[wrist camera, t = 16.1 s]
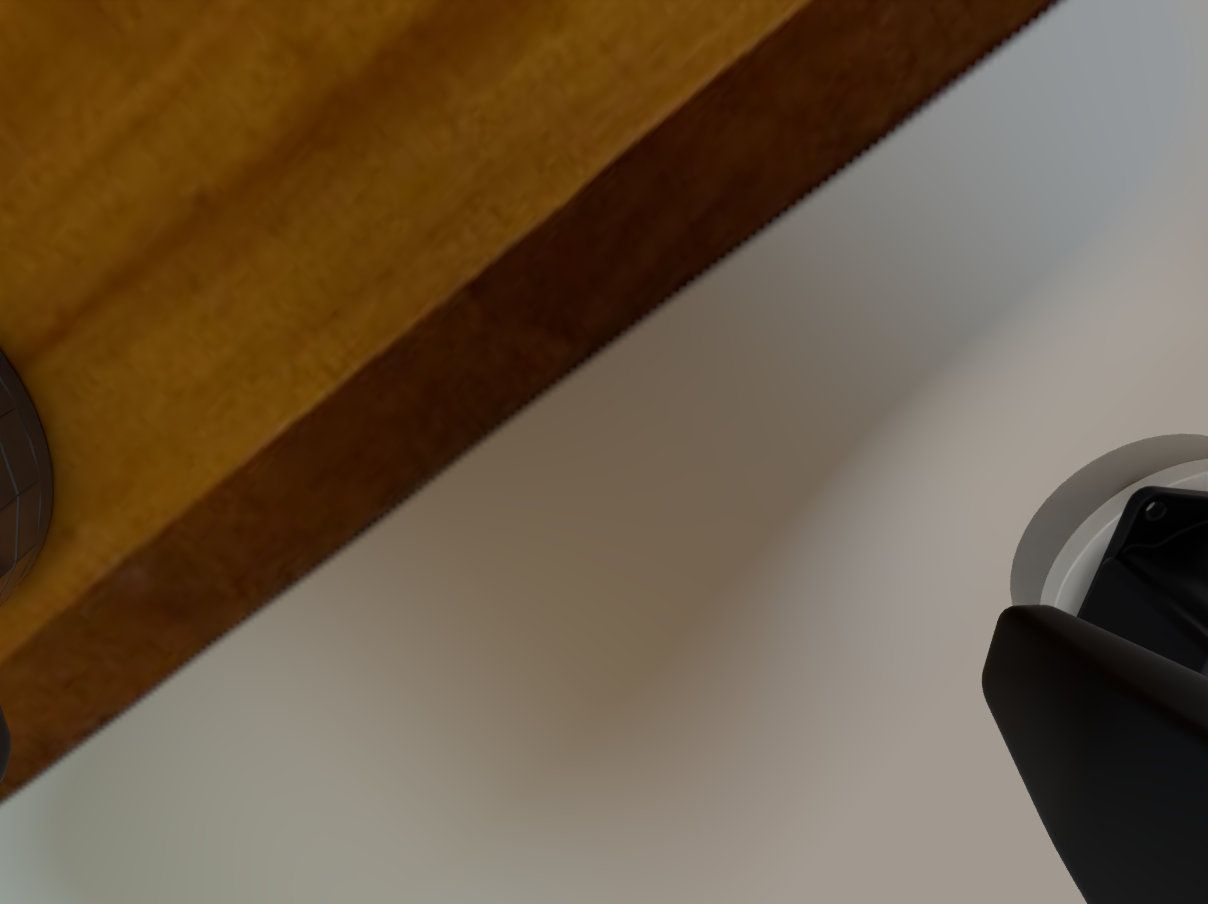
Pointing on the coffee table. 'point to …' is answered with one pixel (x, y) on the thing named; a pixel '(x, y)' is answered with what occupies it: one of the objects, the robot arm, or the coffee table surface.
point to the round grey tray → (21, 482)
